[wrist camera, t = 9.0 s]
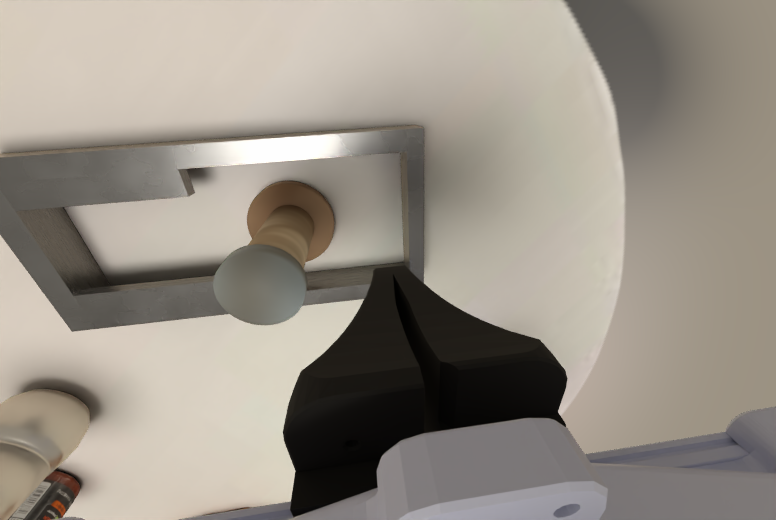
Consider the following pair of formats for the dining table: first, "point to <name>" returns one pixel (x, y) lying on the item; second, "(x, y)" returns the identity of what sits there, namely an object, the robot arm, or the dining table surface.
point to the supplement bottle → (49, 498)
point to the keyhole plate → (171, 180)
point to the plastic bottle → (36, 441)
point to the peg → (275, 254)
